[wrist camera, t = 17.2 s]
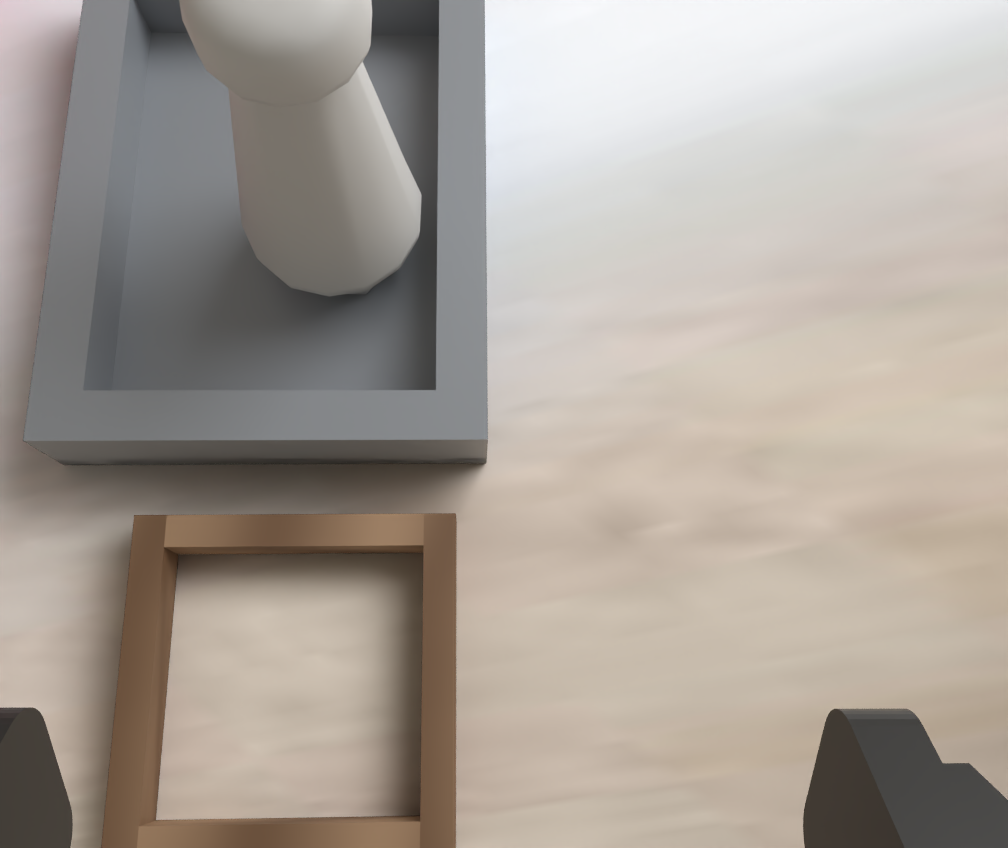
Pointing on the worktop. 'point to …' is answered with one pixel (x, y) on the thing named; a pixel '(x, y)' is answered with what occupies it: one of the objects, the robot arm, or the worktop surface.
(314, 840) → the wooden square frame
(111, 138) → the tray
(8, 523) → the worktop surface
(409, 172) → the salt shaker
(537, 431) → the worktop surface
